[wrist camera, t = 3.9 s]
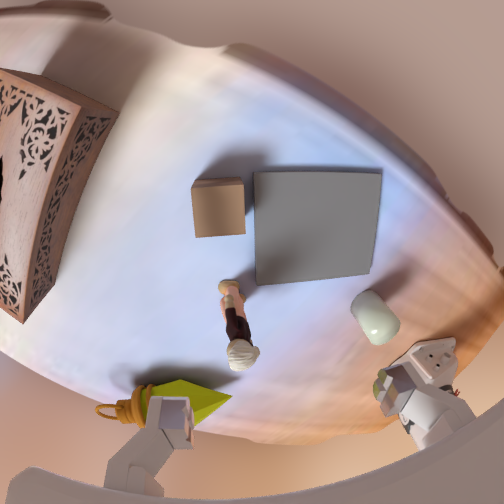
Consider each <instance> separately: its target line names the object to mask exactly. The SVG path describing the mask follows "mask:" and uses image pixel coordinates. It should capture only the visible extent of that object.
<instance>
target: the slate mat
mask: <svg viewBox="0 0 504 504" xmlns="http://www.w3.org/2000/svg"><path fill="white" fill-rule="evenodd" d="M381 177H382V174H379V173H368V172H342V171H270V172H253V189H254V228H255V270H256V285H257V286H262V285H273V284H283V283H294V282H304V281H313V280H323V279H332V278H340V277H349V276H357V275H365V274H369V272H370V267H371V261H372V255H373V248H374V242H375V234H376V227H377V219H378V210H379V200H380V189H381Z"/></svg>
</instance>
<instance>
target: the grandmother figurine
mask: <svg viewBox="0 0 504 504" xmlns="http://www.w3.org/2000/svg"><path fill="white" fill-rule="evenodd" d="M239 288H240V286H239V283H238V282H237V281H222V282H220V283H219V285H218V289H219V291H220V292H221V293H222V294H224V295H225V296H224V297H223V298H222V299H221V301H220V306H221V310H222V314H223V317H224V319H225V322H226V324H227V326H226V333H227V335H228V337H229V339H230V341H231V342H230V343H229V345H228V347H227V355H228V362H229V366H230V369H232V370H234V371H243V370H246V369H248V368H249V367H251V366H252V365H253V364H254V363H255V361H256V359H257V358H258V356H259V354H260V351H259V348H258V347H256V346H253V344H252V340H251V332H250V329H249V324H248V322H247V319H246V315H245V313H244V304H243V303H245V301H246V297H245V296H244V295H243V294H239Z"/></svg>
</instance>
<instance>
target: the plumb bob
mask: <svg viewBox="0 0 504 504" xmlns="http://www.w3.org/2000/svg"><path fill="white" fill-rule="evenodd" d="M151 396H165V397H188V398H189V401H190V407H192V409H193V413H194V426H196V425H197V424H198V423H200V422H201V421H202V420H204V419H205V418H206V417H207V416H209V415H210V414H211V413H213V412H214V411H215V410H216V409H218V408H219V407H220V406H221V405H223V404H224V403H225V402H226V401H227V400H229V399H230V398H231V397H232V396H231V395H228V394H224V393H221V392H217V391H214V390H211V389H208V388H205V387H201V386H198V385H195V384H192V383H189V382H187V381H184V380H181V379H180V380H177V381H173V382H170V383H166V384H163V385H159V386H155V385H154V384H149V385H148V386H147V388H146V387H145V386H144V385H140V386H138V387H137V388H136V389H135V390H134V392H133V393H132V396H131V399H128V400H118V401H117V403H116V405H114V404H103V405H98V406H97V407H96V408H95V411H96V413H97V414H98V415H100V416H102V417H104V418H108V419H112V420H120V421H121V422H122V423H123V424H126V423H137V425H138V426H139V427H140V428H145V425H146V419H147V413H148V407H149V401H150V398H151ZM109 407H110V408H115V413H116V416H117V417H113V416H108V415H105V414H102V413H101V412H99V409H101V408H109Z"/></svg>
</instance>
